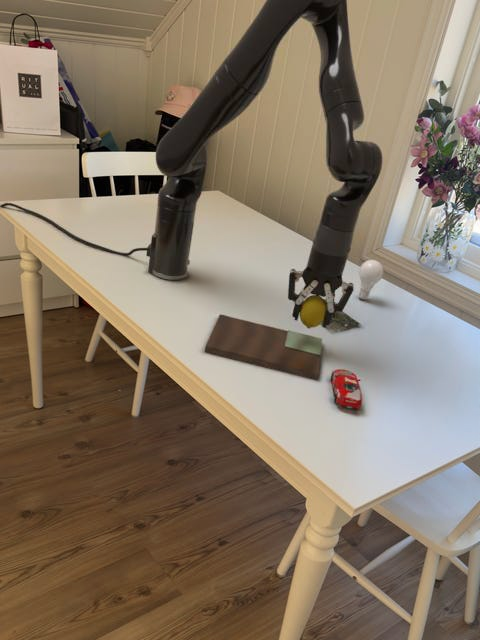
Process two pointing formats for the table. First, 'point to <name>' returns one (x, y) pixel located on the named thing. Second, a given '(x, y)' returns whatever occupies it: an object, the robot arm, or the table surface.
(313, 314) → the lemon
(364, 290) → the lightbulb
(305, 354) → the board
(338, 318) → the eiffel tower souvenir
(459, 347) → the table surface
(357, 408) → the race car
